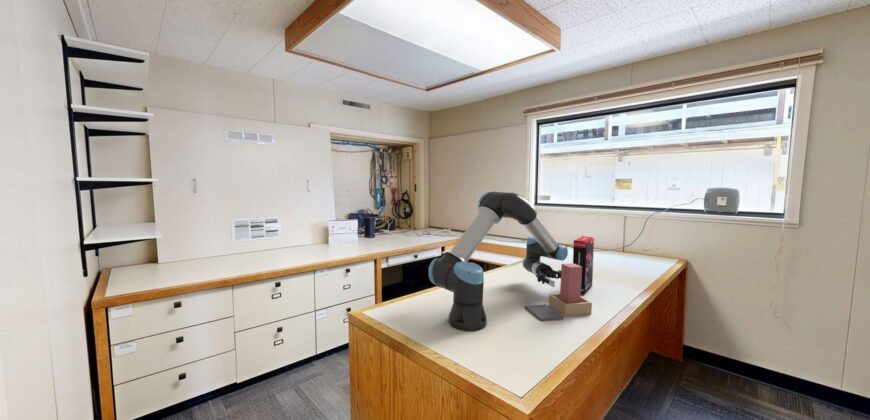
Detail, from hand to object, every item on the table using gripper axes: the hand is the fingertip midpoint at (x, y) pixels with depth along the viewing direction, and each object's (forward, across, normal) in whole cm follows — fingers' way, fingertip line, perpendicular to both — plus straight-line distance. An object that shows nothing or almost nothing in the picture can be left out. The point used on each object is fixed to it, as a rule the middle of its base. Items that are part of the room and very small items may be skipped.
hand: (567, 283), depth 148 cm
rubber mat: (+5, +15, -11) cm, 19 cm away
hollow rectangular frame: (+3, +1, -11) cm, 11 cm away
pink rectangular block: (+3, +1, -11) cm, 11 cm away
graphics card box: (-20, -22, -11) cm, 32 cm away
